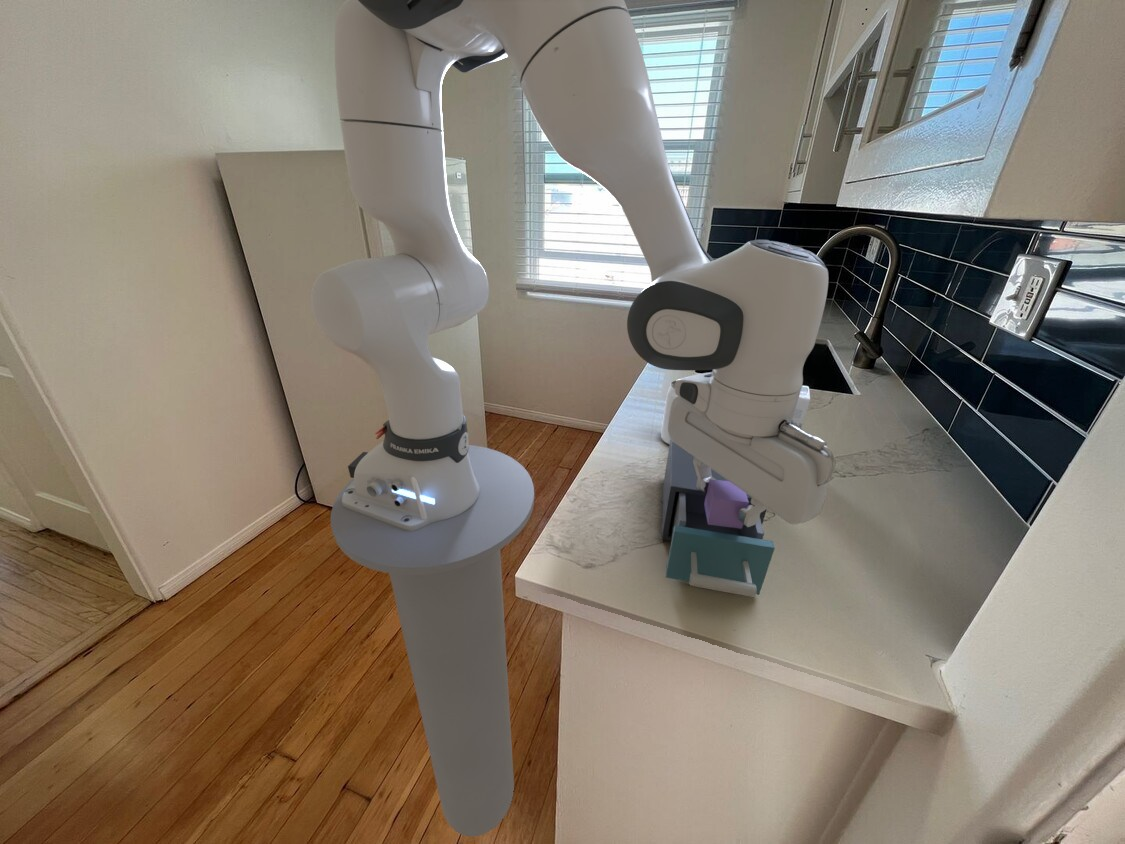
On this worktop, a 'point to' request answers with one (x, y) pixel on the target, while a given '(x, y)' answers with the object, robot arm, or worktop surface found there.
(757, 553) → the drawer
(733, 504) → the purple cube
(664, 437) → the can
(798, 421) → the syrup box
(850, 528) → the worktop surface
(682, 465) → the cabinet
